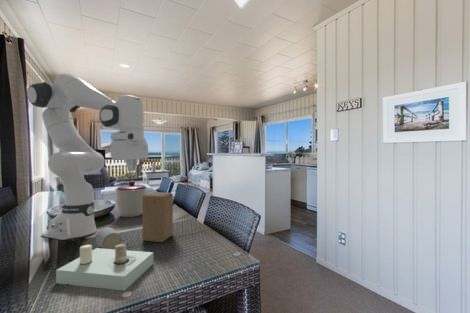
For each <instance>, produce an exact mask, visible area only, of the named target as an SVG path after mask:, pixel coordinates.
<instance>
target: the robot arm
mask: <svg viewBox="0 0 470 313" xmlns="http://www.w3.org/2000/svg"><path fill="white" fill-rule="evenodd" d="M26 94H27V96H26V97H27V99H28V101H29V103H30V104H31V105H32V106H34V107H37V108H42V109H43V108H45V109H44V110H43V111H42V115H41V116H42V121H43V124H44V128H45V129H46V131H47V133H48V135H49V137H50V140H51V141H52V143H53V145H54V147H56V148H57V149H59V150H61V151H59V152H54V153H53V154H51V155H50V156H49V159H48V160H47V166H48V169H49V171H50V172H51V173H52V174H53V175H55V176H56V177H58V179H59V180H60V181H61V183H62V186H63V191H64V204H63V205H59V209H61V212H60V213H59V214H57V215H56V216H55V217H54V218H52V219H51V220H50V221H49V222H48V228H47V230H45V231H44V232H43V231H42V233H41V237H46V238H50V239H56V240H62V241H63V240H70V239H75V238H82V237H84V236H86V237H87V236H89V235H91V234H92V235H93V234H94V233H96V232H97V230H98V229H97V226H96V222H95V215H94V211H95V210H94V209H95V205H94V204H95V202H94V201H93V200H94V198H93V197H94V196H93V195H94V193H93V192H94V189H93V188H94V187H93V185H92V184H91V183H90V182H87V181H86V179H85V176H84V175H85V174H92V173H94V172H99V171H100V170H102V169H103V168H104V167H105V158H104V156H103V155H102V153H101V152H98V151H96V150H94V149H93V148H92V147H91V146H90V145H89V144H88V143H87V142H86V141H85V140H84V139H83V138H82V136H81V135H80V133H79V131H78V129H77V128H76V125H75V124H74V123H73V121H72V119H71V116H70V113H76V112H77V110H78V109H80V108H84V109H89V110H95V111H99V113H98V114H99V117H98V118H99V121H100V123H101V125H102V126H103V127H105V128H109V129H113V130H115V129H116V130H118V131H116V132H113V133H111V134H110V140H111V142H110V158H111V159H112V161H125V165H126V166H127V172H135V171H136V170H137V165H138V162H139V160H147V159H149V155H150V154H149V153H150V152H149V145H148V142H147V140H146V139H145V137H144V125H143V124H144V119H145V118H144V117H145V116H144V114H145V113H144V105H143V101H142V99H141V98H140V97H137V96H135V95H131V94H130V95H129V94H122V95H121V96H120V97H119V98H118V99H117V100H116V101H115V100H113V99H112V98H109V96H107V95H105V94H104V93H102V92H101V91H99V90H98V89H97V88H95V87H93V86H92V85H91V84H90V83H87V82H86V81H85V80H83V79H81V78H80V77H77V76H75V75H72V74H69V73H62V74H58V75H57V76H56V77H55V78H54V81H53V83H47V82H46V81H44V82H37V83H32V84H31V85H29V86H28V88H27V91H26Z"/></svg>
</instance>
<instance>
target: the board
mask: <svg viewBox="0 0 470 313" xmlns="http://www.w3.org/2000/svg"><path fill="white" fill-rule="evenodd" d="M126 254H127V263H126V264H123V265H115V249H103V248H102V247H101V248H99V247H96V248H94V249H93V246H92V244H85V245H81V246H80V247H79V257H77V258H75V259H74V260H72V261H70V262H67V263H66V264H65V265H63V266H61V267H59V268H57V269H56V270H55V273H56V276H55V279H56V282H55V283H56V284H57V283H58V285H66V284H69V285H68V286H77V287H88V288H96V289H105V290H114V291H115V290H116V291H126V290H127V289H128V288H130V287H131V285H132V284H134V283H135V282H136V281H137V280H138V279H140V277H141V276H142V275H144V273H145V272H147V270H149V268H151V267H152V266H153V265H154V252H153V251H152V252H151V251H140V250H139V251H138V250H128V249H126Z"/></svg>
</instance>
